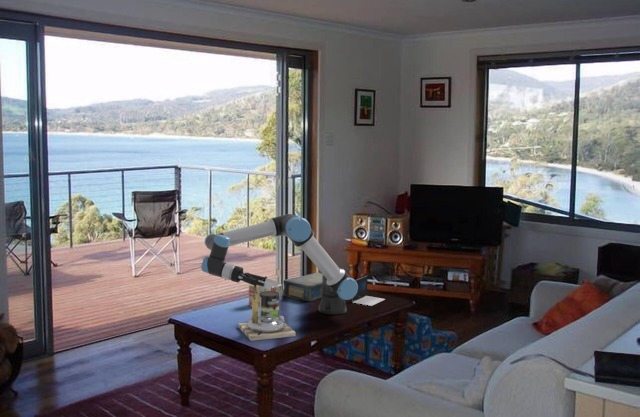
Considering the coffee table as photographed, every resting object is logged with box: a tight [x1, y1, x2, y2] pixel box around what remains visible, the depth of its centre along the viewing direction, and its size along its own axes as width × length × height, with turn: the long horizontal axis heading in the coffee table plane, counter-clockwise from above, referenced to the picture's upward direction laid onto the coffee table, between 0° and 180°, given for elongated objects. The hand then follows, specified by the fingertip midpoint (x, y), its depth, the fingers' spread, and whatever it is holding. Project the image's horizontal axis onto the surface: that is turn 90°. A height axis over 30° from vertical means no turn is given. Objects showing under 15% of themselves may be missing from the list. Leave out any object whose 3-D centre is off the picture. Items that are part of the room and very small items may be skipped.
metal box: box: [283, 272, 323, 302], centre depth 396 cm, size 21×32×10 cm, turn 140°
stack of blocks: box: [248, 284, 284, 309], centre depth 373 cm, size 21×6×12 cm, turn 142°
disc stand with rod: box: [247, 293, 286, 333], centre depth 321 cm, size 18×18×17 cm
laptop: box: [351, 275, 386, 307], centre depth 382 cm, size 18×12×13 cm
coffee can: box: [258, 291, 280, 317], centre depth 341 cm, size 10×10×14 cm
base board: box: [238, 322, 296, 342], centre depth 322 cm, size 22×22×2 cm
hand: (274, 285), depth 313 cm, fingers open, 13 cm apart
